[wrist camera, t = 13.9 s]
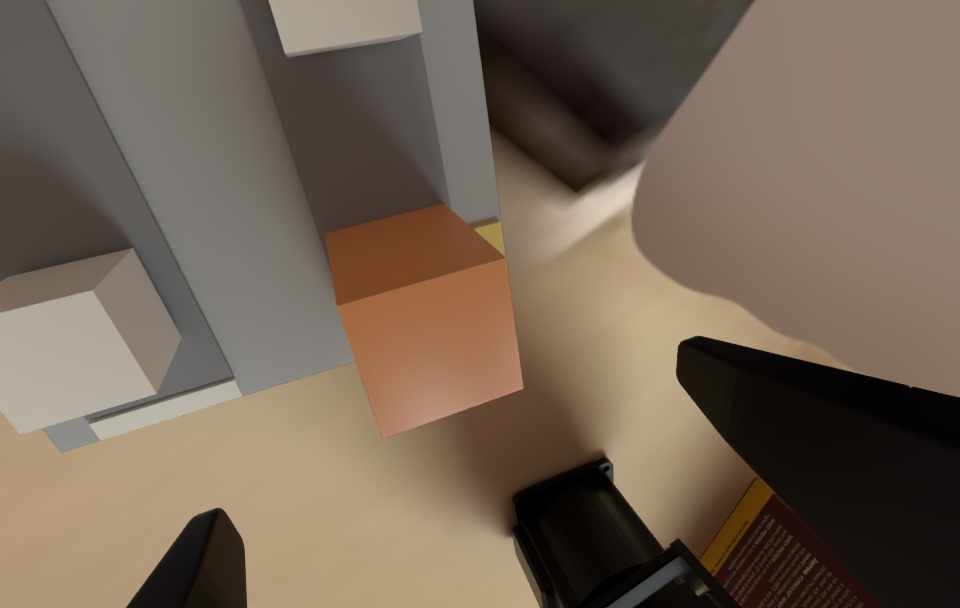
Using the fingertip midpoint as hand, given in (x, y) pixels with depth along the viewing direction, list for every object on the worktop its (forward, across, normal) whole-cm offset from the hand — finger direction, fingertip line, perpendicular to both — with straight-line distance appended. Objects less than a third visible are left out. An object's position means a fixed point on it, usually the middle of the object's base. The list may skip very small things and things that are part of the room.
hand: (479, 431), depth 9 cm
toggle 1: (+8, +8, -1) cm, 12 cm away
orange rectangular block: (+9, 0, 0) cm, 9 cm away
